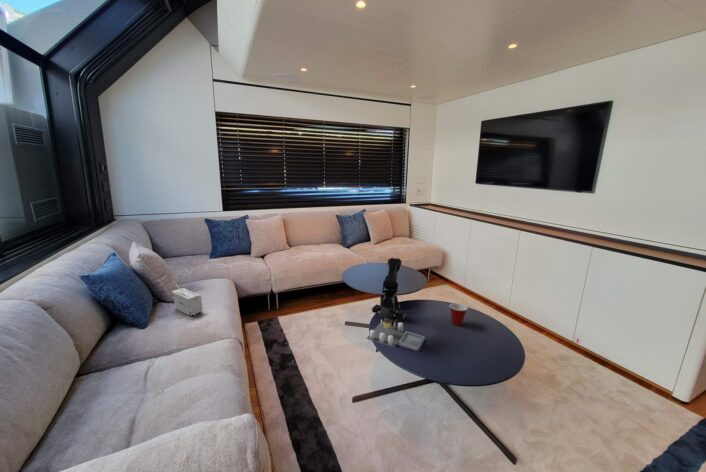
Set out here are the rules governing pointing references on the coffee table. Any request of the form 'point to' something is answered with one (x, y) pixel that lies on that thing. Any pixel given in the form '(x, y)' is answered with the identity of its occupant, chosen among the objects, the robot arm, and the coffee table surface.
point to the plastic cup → (457, 313)
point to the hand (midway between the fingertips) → (388, 325)
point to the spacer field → (387, 334)
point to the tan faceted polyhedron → (387, 323)
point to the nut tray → (411, 341)
